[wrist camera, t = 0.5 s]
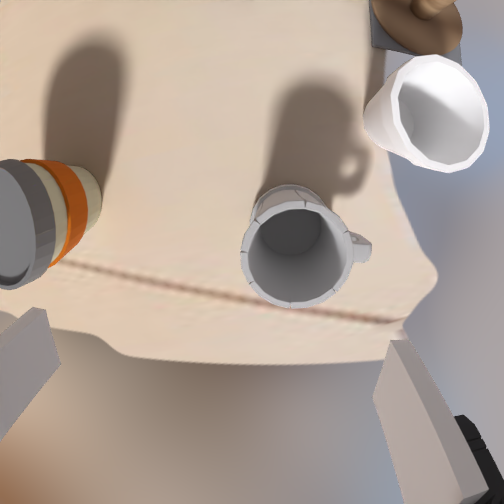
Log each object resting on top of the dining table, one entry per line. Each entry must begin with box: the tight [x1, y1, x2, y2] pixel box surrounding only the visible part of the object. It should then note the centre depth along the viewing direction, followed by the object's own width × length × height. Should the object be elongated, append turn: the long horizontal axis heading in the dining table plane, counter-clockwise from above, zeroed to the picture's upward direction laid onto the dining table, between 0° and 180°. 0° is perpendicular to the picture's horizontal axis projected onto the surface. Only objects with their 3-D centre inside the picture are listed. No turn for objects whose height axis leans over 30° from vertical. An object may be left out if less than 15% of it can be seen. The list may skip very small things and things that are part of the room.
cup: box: [240, 184, 372, 309], centre depth 30 cm, size 10×9×12 cm
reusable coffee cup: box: [0, 159, 102, 290], centre depth 29 cm, size 12×12×15 cm
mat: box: [369, 0, 462, 66], centre depth 26 cm, size 12×12×1 cm
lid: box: [371, 0, 462, 56], centre depth 22 cm, size 12×12×9 cm
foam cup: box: [363, 54, 489, 173], centre depth 25 cm, size 10×9×13 cm
